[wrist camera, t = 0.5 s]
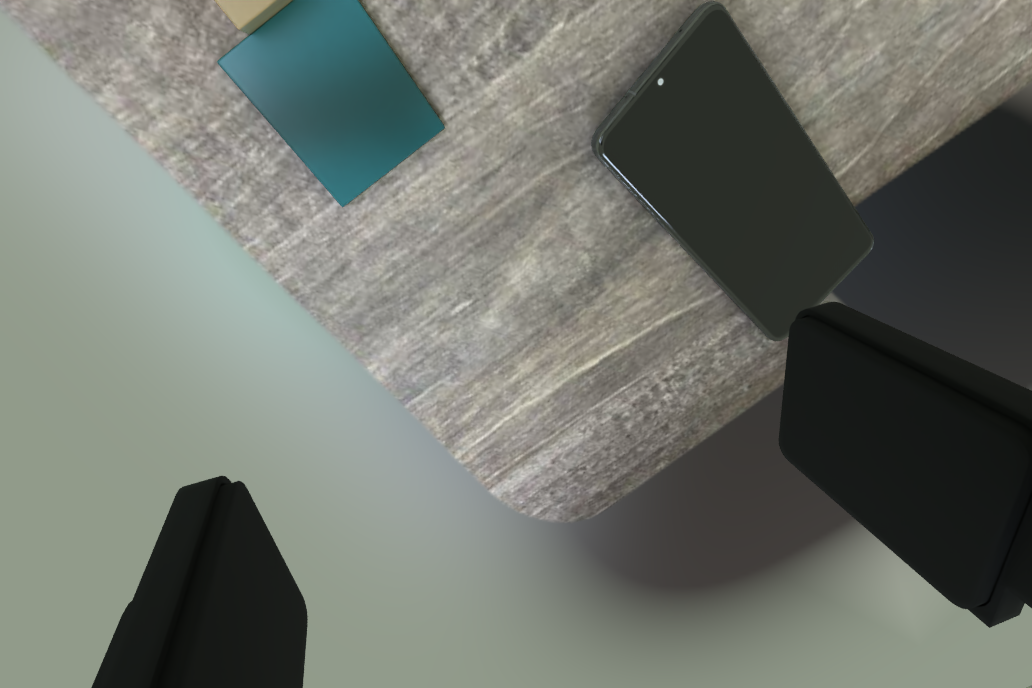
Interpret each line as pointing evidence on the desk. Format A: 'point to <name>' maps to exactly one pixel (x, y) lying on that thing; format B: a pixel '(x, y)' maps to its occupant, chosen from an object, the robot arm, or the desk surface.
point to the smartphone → (733, 174)
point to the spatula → (329, 88)
